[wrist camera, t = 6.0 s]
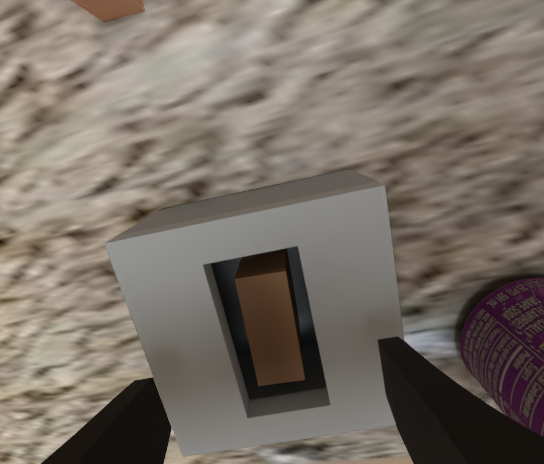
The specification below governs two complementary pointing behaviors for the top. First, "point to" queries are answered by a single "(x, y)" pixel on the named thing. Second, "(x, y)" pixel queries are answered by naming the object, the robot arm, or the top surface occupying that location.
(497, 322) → the beverage can
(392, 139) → the top surface
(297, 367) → the block
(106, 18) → the block
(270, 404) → the coin box
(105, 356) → the top surface
